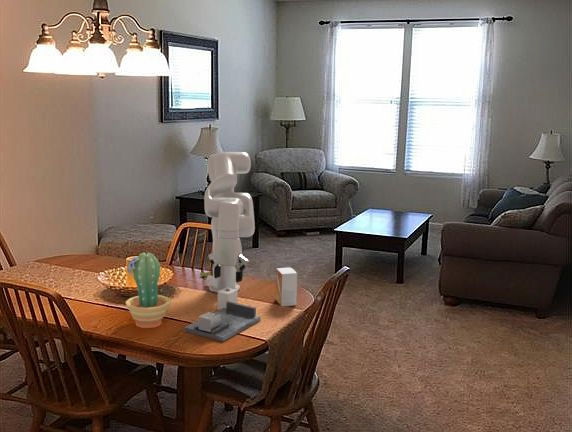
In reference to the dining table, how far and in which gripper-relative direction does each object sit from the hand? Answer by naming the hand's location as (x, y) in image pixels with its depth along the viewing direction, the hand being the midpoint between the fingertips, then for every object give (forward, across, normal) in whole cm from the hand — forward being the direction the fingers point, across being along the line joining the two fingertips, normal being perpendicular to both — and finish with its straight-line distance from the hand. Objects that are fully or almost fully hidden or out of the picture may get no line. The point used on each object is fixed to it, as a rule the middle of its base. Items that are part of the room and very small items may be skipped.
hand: (228, 279), depth 233 cm
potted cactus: (+12, -15, -27) cm, 33 cm away
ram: (+10, +8, -22) cm, 25 cm away
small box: (+12, +14, +19) cm, 26 cm away
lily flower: (+11, -30, +31) cm, 44 cm away
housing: (+12, -1, +1) cm, 12 cm away
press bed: (+12, +8, -15) cm, 21 cm away
